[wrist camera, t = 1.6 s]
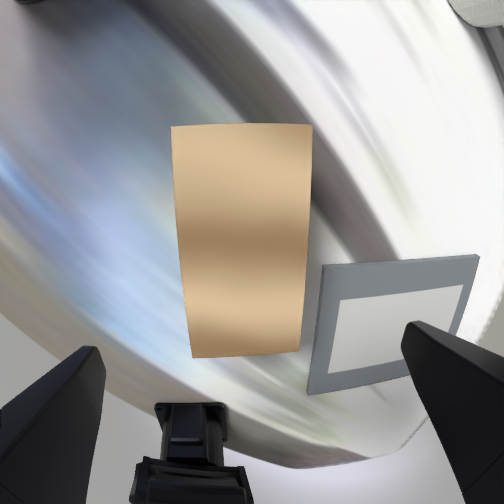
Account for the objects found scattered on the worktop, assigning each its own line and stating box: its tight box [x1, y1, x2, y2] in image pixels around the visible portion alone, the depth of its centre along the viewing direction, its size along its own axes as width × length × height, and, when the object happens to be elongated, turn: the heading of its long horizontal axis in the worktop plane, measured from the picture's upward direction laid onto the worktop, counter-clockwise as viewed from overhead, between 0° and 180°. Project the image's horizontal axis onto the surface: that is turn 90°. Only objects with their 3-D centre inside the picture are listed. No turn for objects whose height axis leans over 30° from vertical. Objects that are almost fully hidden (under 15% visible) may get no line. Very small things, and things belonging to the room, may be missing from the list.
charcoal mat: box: [307, 254, 480, 395], centre depth 25 cm, size 13×16×1 cm
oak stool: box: [171, 123, 312, 358], centre depth 17 cm, size 12×6×6 cm, turn 0°
